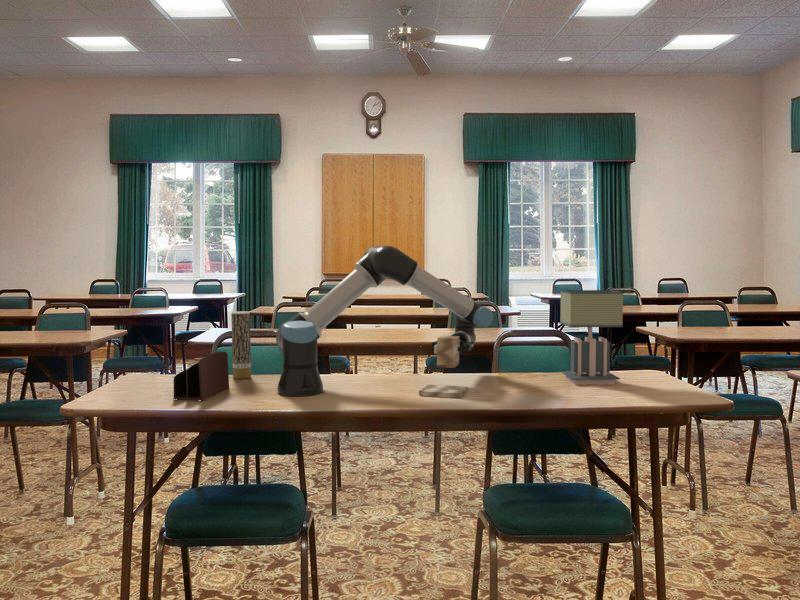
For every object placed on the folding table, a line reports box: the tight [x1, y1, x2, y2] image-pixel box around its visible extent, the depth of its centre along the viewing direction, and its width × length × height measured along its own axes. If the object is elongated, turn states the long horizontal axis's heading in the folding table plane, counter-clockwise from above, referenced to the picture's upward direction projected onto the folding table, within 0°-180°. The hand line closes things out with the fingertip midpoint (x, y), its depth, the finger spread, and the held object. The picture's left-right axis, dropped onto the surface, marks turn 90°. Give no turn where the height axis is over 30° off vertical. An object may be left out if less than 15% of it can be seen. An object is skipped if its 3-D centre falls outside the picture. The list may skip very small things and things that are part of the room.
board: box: [418, 384, 469, 399], centre depth 206 cm, size 14×11×2 cm
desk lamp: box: [559, 289, 624, 386], centre depth 224 cm, size 18×14×33 cm
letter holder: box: [173, 351, 230, 402], centre depth 207 cm, size 10×20×14 cm, turn 170°
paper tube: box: [230, 310, 252, 380], centre depth 235 cm, size 7×7×25 cm
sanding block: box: [436, 334, 460, 369], centre depth 216 cm, size 6×8×10 cm
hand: (444, 350), depth 211 cm, fingers closed on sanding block, 6 cm apart
